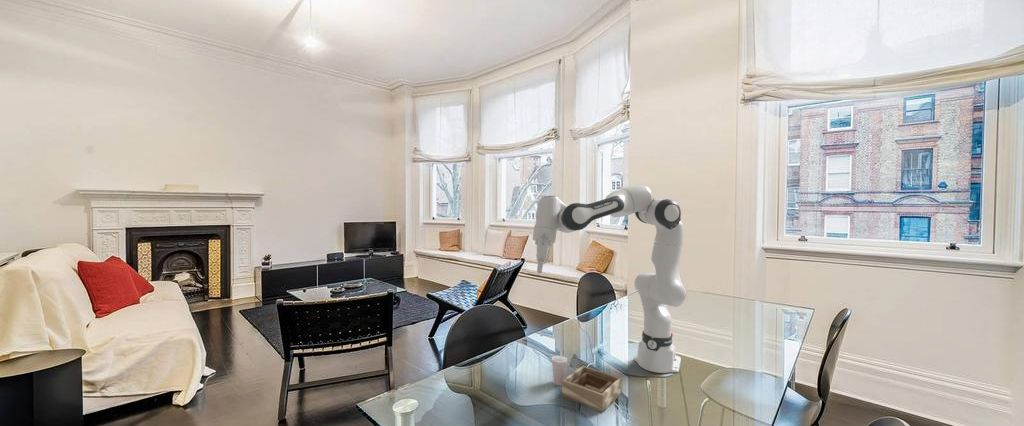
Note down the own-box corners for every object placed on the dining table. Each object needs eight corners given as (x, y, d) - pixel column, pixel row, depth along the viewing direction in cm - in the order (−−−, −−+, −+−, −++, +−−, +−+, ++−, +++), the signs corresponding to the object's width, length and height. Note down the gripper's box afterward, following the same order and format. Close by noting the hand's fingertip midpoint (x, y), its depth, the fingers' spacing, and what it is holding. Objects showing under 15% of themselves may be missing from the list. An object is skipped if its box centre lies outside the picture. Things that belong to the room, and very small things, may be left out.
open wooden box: (582, 380, 158) (583, 365, 157) (621, 393, 148) (622, 378, 147) (561, 396, 145) (562, 380, 144) (602, 412, 135) (603, 395, 135)
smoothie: (566, 388, 151) (567, 352, 150) (549, 386, 152) (550, 350, 151) (567, 380, 157) (568, 345, 156) (551, 378, 159) (552, 343, 158)
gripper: (553, 234, 145) (548, 272, 142) (551, 241, 165) (547, 274, 162) (536, 231, 145) (530, 269, 143) (536, 238, 165) (531, 272, 163)
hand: (539, 272), depth 152 cm, fingers open, 8 cm apart
